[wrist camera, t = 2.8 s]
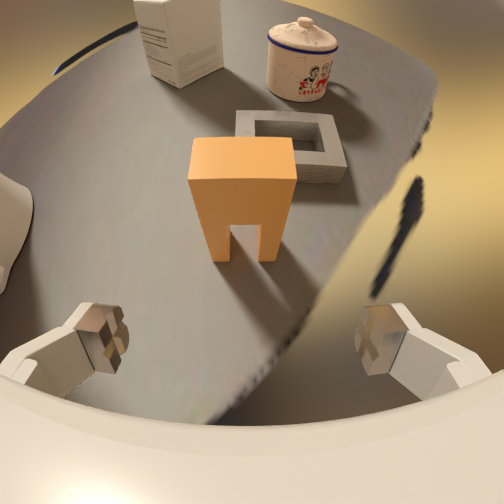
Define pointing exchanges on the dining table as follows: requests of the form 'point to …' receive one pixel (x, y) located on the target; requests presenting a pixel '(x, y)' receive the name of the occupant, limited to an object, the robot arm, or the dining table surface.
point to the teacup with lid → (299, 60)
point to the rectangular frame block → (300, 128)
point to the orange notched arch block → (242, 189)
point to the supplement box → (181, 38)
